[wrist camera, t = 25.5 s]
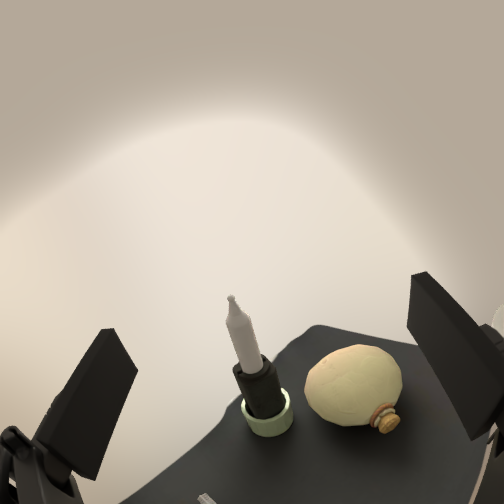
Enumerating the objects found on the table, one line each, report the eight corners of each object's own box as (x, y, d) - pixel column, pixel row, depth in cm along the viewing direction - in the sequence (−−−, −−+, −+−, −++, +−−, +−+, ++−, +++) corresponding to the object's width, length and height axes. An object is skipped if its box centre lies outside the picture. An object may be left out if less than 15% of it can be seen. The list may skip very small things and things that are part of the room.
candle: (249, 414, 42) (202, 295, 33) (275, 401, 44) (240, 278, 35) (264, 434, 38) (217, 314, 28) (291, 419, 40) (260, 294, 30)
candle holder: (288, 397, 45) (284, 380, 43) (297, 430, 38) (294, 415, 36) (246, 407, 45) (239, 391, 43) (251, 441, 38) (244, 426, 36)
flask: (366, 356, 49) (425, 416, 33) (293, 392, 45) (342, 470, 29) (369, 320, 45) (440, 383, 29) (287, 359, 41) (346, 448, 26)
